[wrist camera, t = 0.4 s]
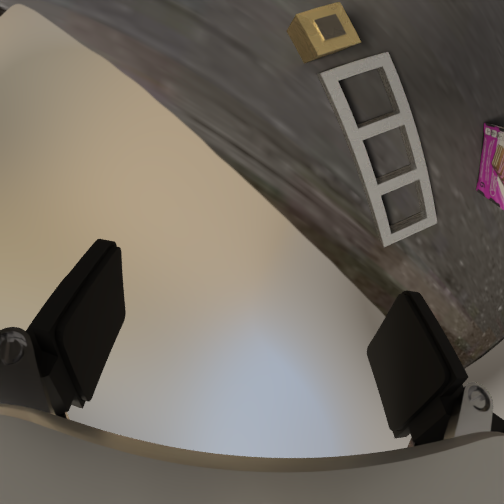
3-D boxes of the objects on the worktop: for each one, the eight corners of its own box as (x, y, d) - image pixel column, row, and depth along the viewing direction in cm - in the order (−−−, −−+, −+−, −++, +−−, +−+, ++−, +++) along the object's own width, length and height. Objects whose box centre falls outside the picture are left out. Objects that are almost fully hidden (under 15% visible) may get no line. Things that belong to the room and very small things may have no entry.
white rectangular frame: (381, 53, 27) (388, 51, 25) (430, 216, 38) (437, 222, 36) (316, 74, 29) (320, 73, 27) (379, 240, 40) (384, 247, 38)
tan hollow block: (321, 19, 25) (340, 0, 18) (338, 51, 27) (362, 41, 20) (286, 31, 26) (296, 13, 19) (304, 63, 28) (319, 55, 21)
